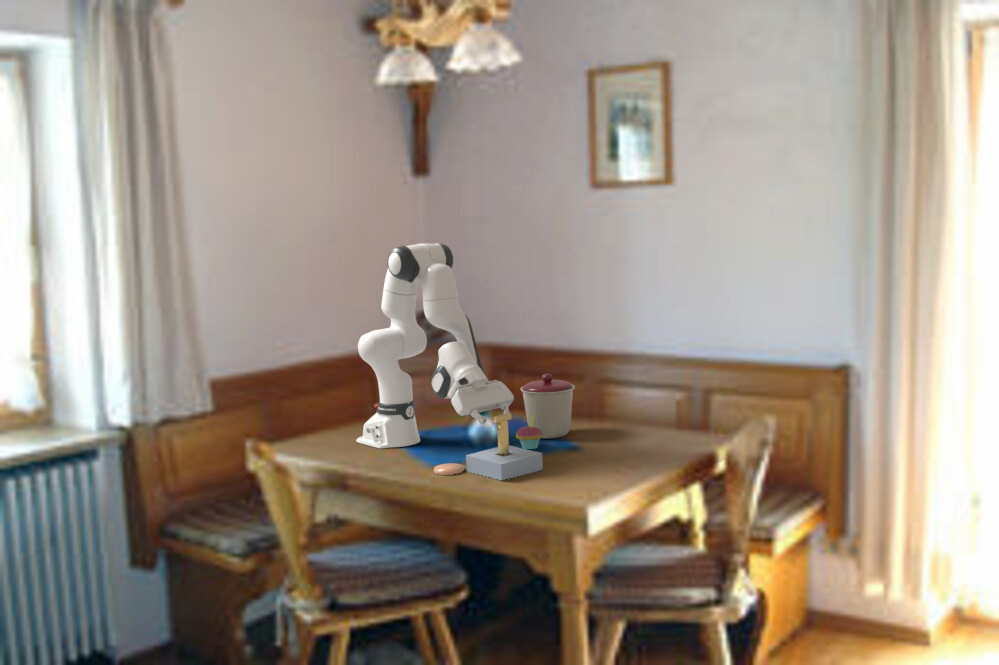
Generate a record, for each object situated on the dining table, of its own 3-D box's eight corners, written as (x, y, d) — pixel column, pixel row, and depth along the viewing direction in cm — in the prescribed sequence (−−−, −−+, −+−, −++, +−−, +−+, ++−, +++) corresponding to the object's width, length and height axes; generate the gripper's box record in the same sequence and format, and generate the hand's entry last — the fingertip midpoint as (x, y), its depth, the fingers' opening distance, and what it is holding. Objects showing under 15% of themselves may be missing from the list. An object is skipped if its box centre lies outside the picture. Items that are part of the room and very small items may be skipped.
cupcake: (547, 446, 334) (546, 409, 332) (535, 452, 327) (533, 415, 325) (524, 444, 338) (522, 407, 337) (511, 450, 331) (509, 413, 329)
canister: (577, 428, 356) (575, 368, 353) (575, 441, 338) (573, 377, 335) (524, 429, 358) (522, 369, 355) (520, 442, 340) (517, 379, 337)
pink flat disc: (427, 473, 309) (427, 469, 309) (447, 465, 316) (447, 462, 316) (450, 477, 303) (450, 473, 303) (470, 469, 311) (469, 465, 310)
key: (493, 471, 307) (490, 416, 305) (508, 467, 311) (506, 412, 308) (500, 473, 304) (497, 417, 302) (515, 469, 308) (513, 414, 306)
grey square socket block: (466, 471, 309) (466, 455, 308) (507, 460, 319) (506, 444, 318) (501, 481, 296) (500, 464, 296) (542, 469, 307) (542, 453, 306)
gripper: (495, 385, 323) (517, 420, 316) (443, 396, 310) (465, 432, 303) (503, 372, 319) (526, 407, 312) (451, 382, 306) (474, 419, 299)
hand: (496, 419), depth 308 cm, fingers open, 8 cm apart
